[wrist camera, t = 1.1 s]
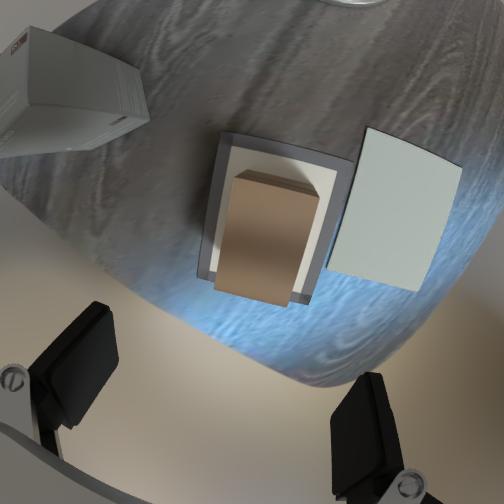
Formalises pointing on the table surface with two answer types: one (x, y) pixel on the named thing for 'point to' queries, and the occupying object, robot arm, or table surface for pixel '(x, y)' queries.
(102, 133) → the skincare box
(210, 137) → the table surface
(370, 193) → the sage mat
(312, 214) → the walnut block
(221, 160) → the grey framed panel
